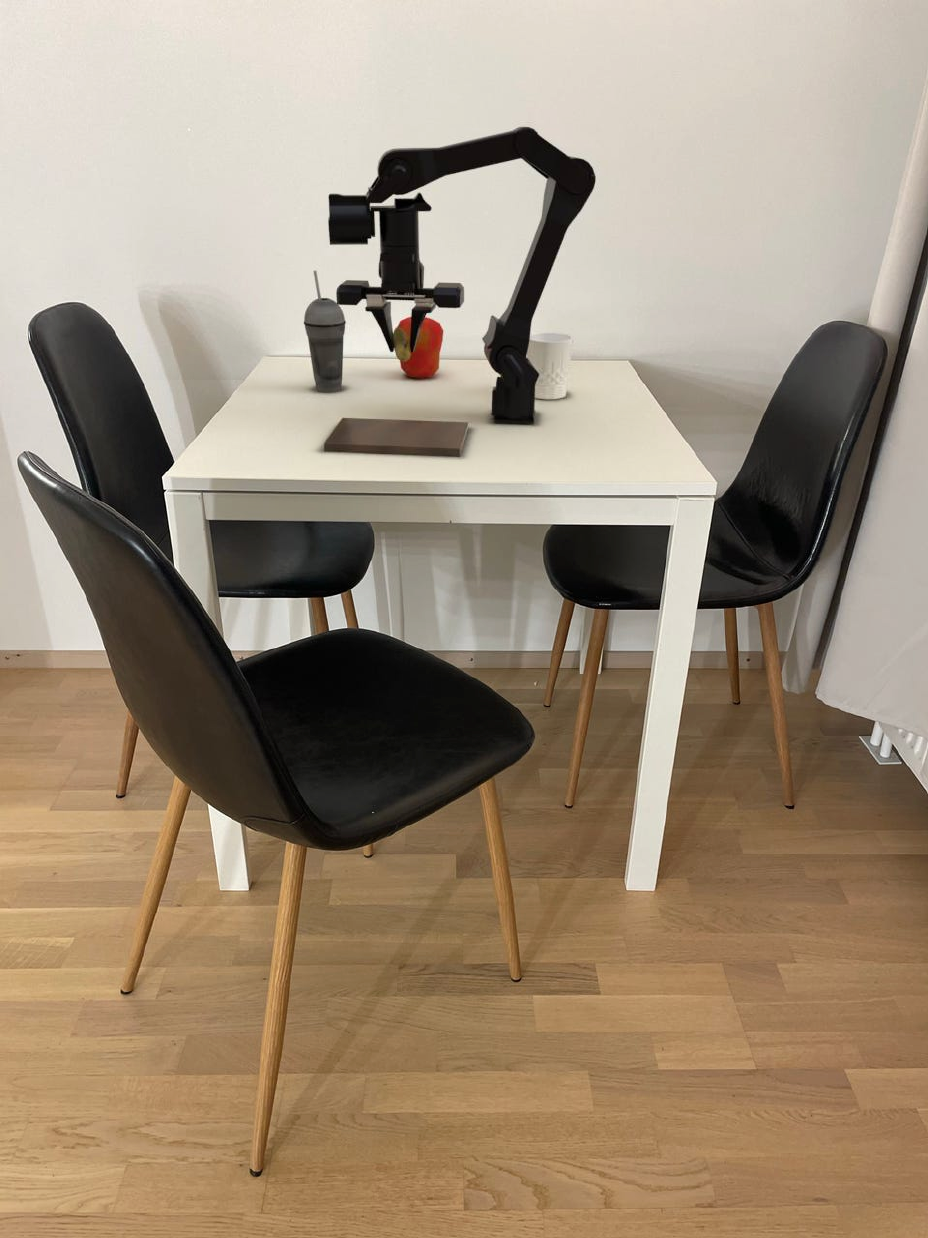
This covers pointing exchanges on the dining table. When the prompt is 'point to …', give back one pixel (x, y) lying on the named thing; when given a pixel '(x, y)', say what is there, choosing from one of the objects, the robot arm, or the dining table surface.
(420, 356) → the apple
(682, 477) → the dining table surface
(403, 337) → the banana
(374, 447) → the walnut board
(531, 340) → the white cup
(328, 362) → the beverage cup
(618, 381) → the dining table surface
